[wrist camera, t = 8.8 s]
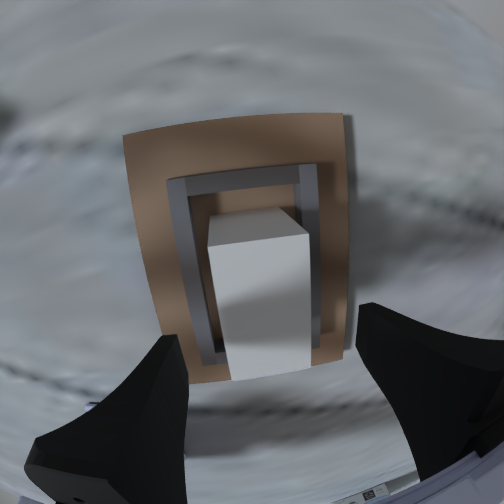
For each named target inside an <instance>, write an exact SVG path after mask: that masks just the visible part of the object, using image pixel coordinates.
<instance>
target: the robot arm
mask: <svg viewBox="0 0 504 504" xmlns="http://www.w3.org/2000/svg"><path fill="white" fill-rule="evenodd" d="M355 346H356V348H357V350H358V352H359V355H360V357H361V359H362V361H363V363H364V365H365V366H366V368H367V369H368V371H369V372H370V374H371V375H372V377H373V379H374V380H375V381H376V383H377V384H378V386H379V387H380V389H381V390H382V392H383V393H384V395H385V397H386V398H387V400H388V401H389V403H390V404H391V406H392V408H393V410H394V412H395V414H396V416H397V418H398V420H399V422H400V425H401V427H402V429H403V432H404V434H405V436H406V439H407V441H408V444H409V446H410V449H411V452H412V455H413V458H414V461H415V464H416V467H417V471H418V474H419V478H420V483H418V484H416V485H414V486H412V487H410V488H408V489H405V490H403V491H401V492H399V493H397V494H394V495H392V496H390V497H387V498H385V499H382V500H380V501H377V502H375V503H372V504H499V503H501V502H502V501H503V500H504V340H488V339H480V338H473V337H468V336H463V335H458V334H454V333H450V332H447V331H443V330H440V329H437V328H434V327H431V326H429V325H426V324H423V323H421V322H418V321H416V320H413V319H411V318H409V317H406V316H404V315H402V314H400V313H397V312H395V311H393V310H391V309H388V308H386V307H384V306H381V305H379V304H376V303H373V302H371V303H366V304H362V305H359V313H358V324H357V335H356V344H355ZM188 400H189V374H188V370H187V367H186V364H185V360H184V357H183V354H182V350H181V347H180V343H179V339H178V336H177V334H171V335H162V336H161V337H160V338H159V339H158V341H157V342H156V343H155V344H154V346H153V347H152V348H151V350H150V351H149V352H148V353H147V355H146V356H145V357H144V358H143V360H142V361H141V362H140V363H139V365H138V366H137V367H136V368H135V369H134V370H133V371H132V372H131V374H130V375H129V376H128V377H127V378H126V379H125V380H124V381H123V382H122V383H121V384H120V385H119V386H118V387H117V388H116V389H115V390H114V391H113V392H112V393H111V394H109V395H108V396H107V397H106V398H105V399H104V400H102V401H101V402H100V403H98V404H86V405H85V410H86V411H87V412H86V413H85V414H83V415H81V416H80V417H78V418H77V419H75V420H73V421H71V422H70V423H68V424H66V425H64V426H62V427H60V428H58V429H56V430H54V431H52V432H49V433H47V434H45V435H42V436H40V437H37V438H36V439H35V441H34V443H33V446H32V448H31V450H30V453H29V455H28V458H27V460H26V463H25V465H24V471H25V473H26V475H27V476H28V478H29V479H30V480H31V481H32V482H33V483H34V484H35V485H36V486H37V487H39V488H40V489H41V490H42V491H43V492H44V493H46V494H47V495H48V496H49V497H50V498H52V499H53V500H54V501H56V504H187V495H186V484H185V470H184V460H185V459H186V455H185V453H184V438H185V428H186V418H187V409H188ZM18 504H43V503H41V502H38V501H35V500H32V499H30V498H27V497H24V496H20V499H19V503H18Z"/></svg>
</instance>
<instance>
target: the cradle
mask: <svg viewBox="0 0 504 504" xmlns="http://www.w3.org/2000/svg"><path fill="white" fill-rule="evenodd" d="M123 145H124V153H125V161H126V168H127V176H128V182H129V189H130V195H131V201H132V207H133V213H134V218H135V223H136V228H137V234H138V238H139V243H140V248H141V253H142V257H143V262H144V266H145V270H146V274H147V279H148V283H149V287H150V291H151V295H152V298H153V302H154V306H155V310H156V313H157V317H158V320H159V324H160V327H161V331H162V334H163V335H171V334H177V336H178V339H179V343H180V347H181V350H182V354H183V357H184V360H185V364H186V367H187V370H188V374H189V384H197V383H207V382H216V381H225V380H232V379H231V374H230V370H229V365H228V360H227V355H226V350H225V344H224V339H223V334H222V329H221V323H220V318H219V312H218V307H217V301H216V295H215V290H214V284H213V278H212V272H211V266H210V260H209V253H208V234H209V222H210V215H217V214H224V213H232V212H240V211H248V210H256V209H264V208H272V207H279V208H280V209H281V210H283V211H284V212H285V213H286V214H287V215H288V216H289V217H291V218H292V219H293V220H294V221H295V222H296V223H298V224H299V225H300V226H301V227H302V228H303V229H304V230H306V231H307V232H308V233H309V247H310V277H311V366H315V365H319V364H324V363H328V362H333V361H337V360H341V359H343V350H344V338H345V326H346V311H347V291H348V260H349V212H348V181H347V162H346V147H345V134H344V123H343V113H291V114H270V115H255V116H243V117H232V118H223V119H214V120H206V121H199V122H192V123H185V124H179V125H173V126H167V127H161V128H156V129H151V130H146V131H141V132H136V133H132V134H127V135H123Z"/></svg>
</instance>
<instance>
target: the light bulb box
mask: <svg viewBox="0 0 504 504" xmlns="http://www.w3.org/2000/svg"><path fill="white" fill-rule="evenodd" d="M387 497H390V493H389V491H388V489H387V487H386V485H385V483H383V484H381V485H378V486H376V487H374V488H371V489H369V490H366V491H364V492H361V493H358V494H356V495H353V496H350V497H348V498H345V499H342V500H339V501H336V502H332V503H331V504H372V503H375V502H377V501H380V500H382V499H385V498H387Z"/></svg>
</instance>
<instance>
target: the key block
mask: <svg viewBox="0 0 504 504" xmlns="http://www.w3.org/2000/svg"><path fill="white" fill-rule="evenodd" d="M208 253H209V260H210V266H211V272H212V278H213V284H214V290H215V295H216V301H217V307H218V312H219V318H220V323H221V329H222V334H223V339H224V344H225V350H226V355H227V360H228V365H229V370H230V374H231V379H232V381H239V380H246V379H253V378H259V377H265V376H271V375H277V374H282V373H288V372H293V371H298V370H303V369H308V368H311V277H310V247H309V233H308V232H307V231H306V230H304V229H303V228H302V227H301V226H300V225H299V224H298V223H296V222H295V221H294V220H293V219H292V218H291V217H289V216H288V215H287V214H286V213H285V212H284V211H283V210H281V209H280V208H279V207H272V208H264V209H256V210H248V211H240V212H232V213H224V214H217V215H210V222H209V234H208Z"/></svg>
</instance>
